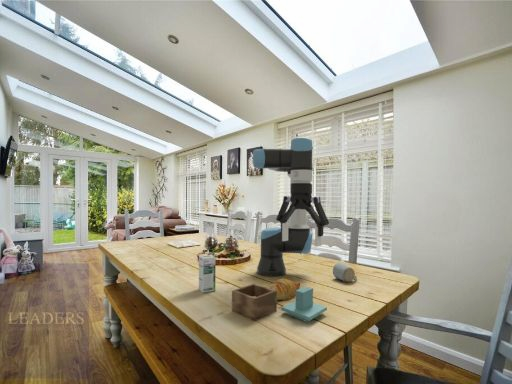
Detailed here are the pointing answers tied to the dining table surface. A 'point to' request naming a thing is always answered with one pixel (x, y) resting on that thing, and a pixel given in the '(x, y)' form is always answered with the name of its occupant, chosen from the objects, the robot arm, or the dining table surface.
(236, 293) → the box
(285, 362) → the dining table surface
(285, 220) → the robot arm
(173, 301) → the dining table surface
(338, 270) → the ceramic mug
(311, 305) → the lid
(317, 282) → the dining table surface
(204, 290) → the syrup box
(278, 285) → the croissant
